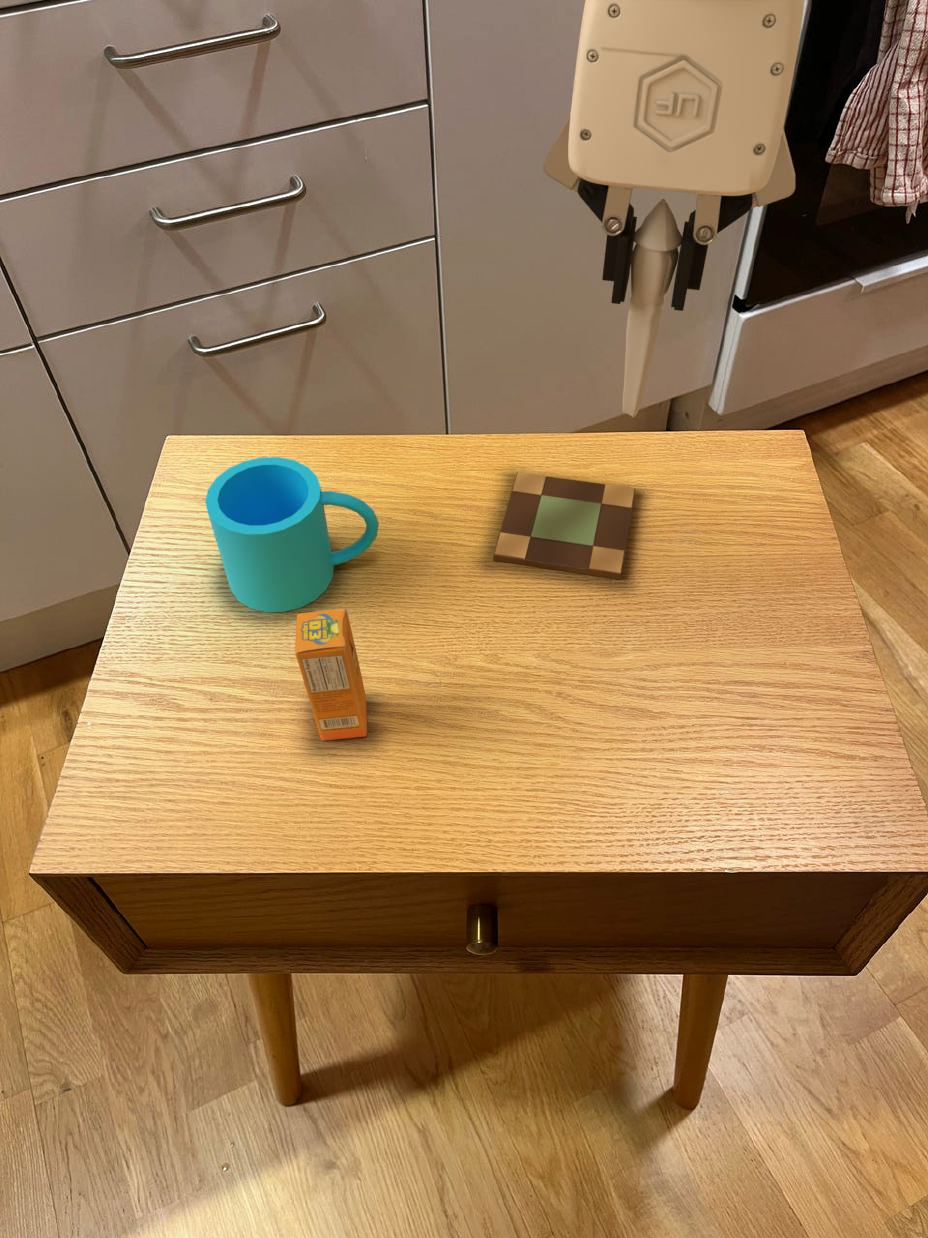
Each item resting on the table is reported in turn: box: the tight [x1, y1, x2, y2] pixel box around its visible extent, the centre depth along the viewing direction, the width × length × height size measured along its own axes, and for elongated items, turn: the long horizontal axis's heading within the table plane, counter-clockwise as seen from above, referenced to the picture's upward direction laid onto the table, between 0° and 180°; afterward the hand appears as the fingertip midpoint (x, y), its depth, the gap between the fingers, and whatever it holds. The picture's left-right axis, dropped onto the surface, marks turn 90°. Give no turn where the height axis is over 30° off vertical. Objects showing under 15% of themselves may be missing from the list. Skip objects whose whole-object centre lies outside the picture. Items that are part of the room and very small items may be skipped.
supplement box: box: [294, 607, 368, 742], centre depth 62 cm, size 3×3×10 cm
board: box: [492, 471, 636, 580], centre depth 77 cm, size 10×10×1 cm
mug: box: [204, 456, 380, 613], centre depth 72 cm, size 12×8×8 cm
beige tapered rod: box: [622, 198, 683, 418], centre depth 56 cm, size 2×3×14 cm
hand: (649, 291), depth 55 cm, fingers closed on beige tapered rod, 2 cm apart
